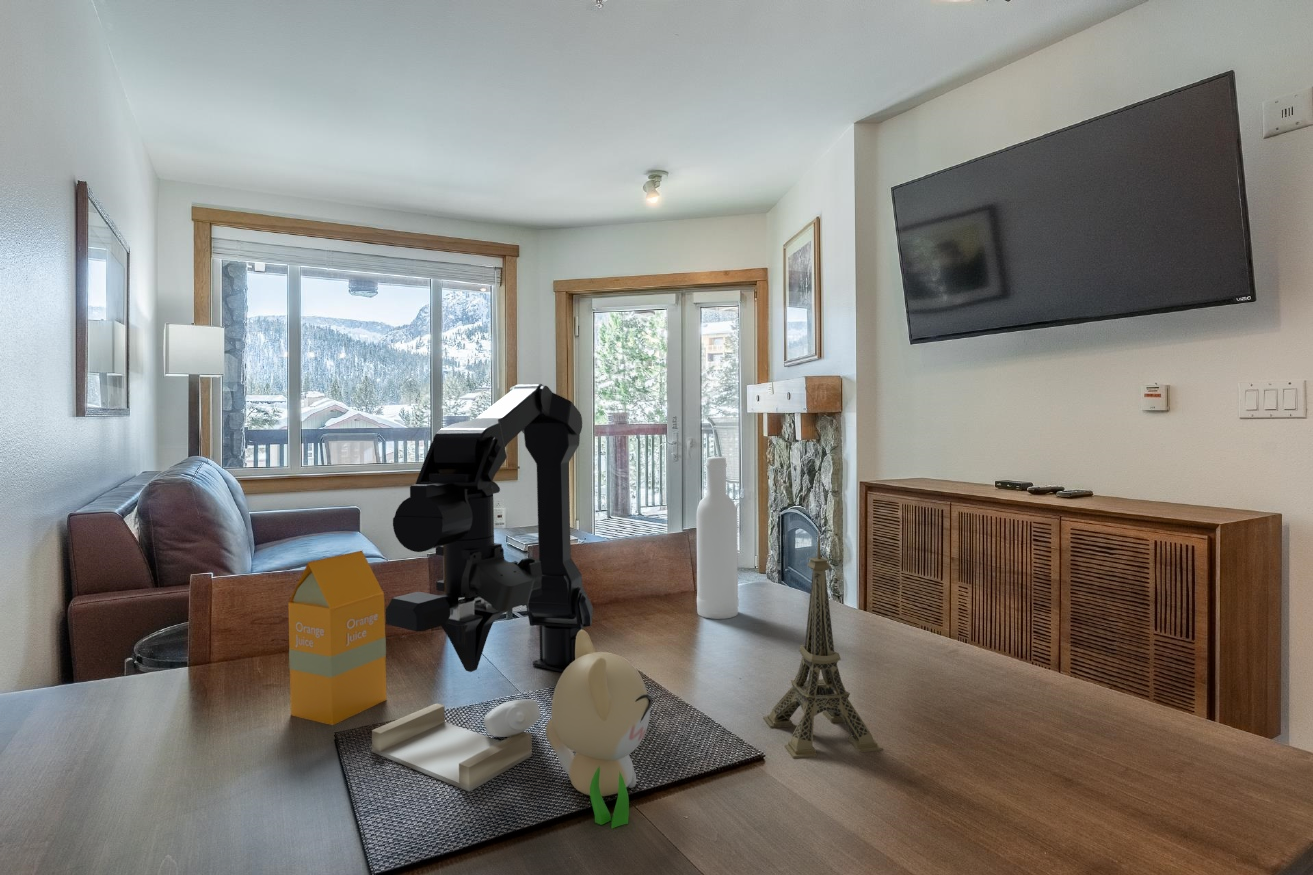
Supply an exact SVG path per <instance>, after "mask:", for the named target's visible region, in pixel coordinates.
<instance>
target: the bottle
mask: <svg viewBox="0 0 1313 875" xmlns="http://www.w3.org/2000/svg"><path fill="white" fill-rule="evenodd" d="M705 467H706V494H705V495H704V497H703V498H702V499H700V500H699V503H698V505H697V508H696V592H697V594H696V595H697V596H696V606H697V607H696V608H697V610H696V611H697V612H696V613H697V615H698V616H700V617H701V618H706V619H712V620H725V619H731V618H735V617H736V616H738V614H739V579H738V578H739V574H738V573H739V570H738V568H739V567H738V565H739V564H738V563H739V562H738V557H739V556H738V550H739V549H738V546H739V545H738V510H737V507H736V504H735V502H734V500H732V498H731V497H730V496H729V495H728V494H727V460H726V457H724V456H710V457H707V458H706V464H705Z"/></svg>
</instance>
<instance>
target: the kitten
mask: <svg viewBox="0 0 1313 875" xmlns="http://www.w3.org/2000/svg"><path fill="white" fill-rule="evenodd" d="M652 705H653V697H652V696H651V695H649V694H648V691H647V688H646V684H645V682H644V680H643V677H642V676H641V674H640V673H639V671H638V669H637V668H636V667H635V666H634V665H633V664H632V663H631V662H630V661H629V660H628V659H626V658H624V657H623V656H621V655H618V654H615V653H611V652H606V651H596V649H595V646H594V644H593V642H592V640H591V637H590V634H589V633H588V632H587V631H586V630H584V629H583V630H580V631H579V632H578V633H577V636H576V644H575V661H573V662H572V663H571V664H570V665H569V666H568V667H567V668H566V669H565V670H564V672H561V675H560V677H559V679H558V680H557V683H556V686H555V688H554V692H553V695H552V702H551V709H550V710H551V712H550V713H551V719H549V720H548V722H547V723H546V727H545V733H546V738H547V741H548V743H549V745H550V746H551V748H552V749H553V750H554V752H555V755H556V756H557V758H558V762H559V763H560V766H561V767H562V769H563V771H564V772H565V773H566V774H567V775H568V776H569V780H570V783H571V784H572V786H573V787H574V789H576V790H577V791H578V792H580V793H582V794H584V795H587V796H589V798H590V802H591V806H592V810H593V814H594V823H595V824H598V825H600V826H602V825H604V824H607V823H609V822H610V825H611V827H610V829H615V828H617V827H620V826H623V825H628V824H629V813H630V812H629V811H630V805H629V804H630V800H629V794H628V789H627V788H630V789H633V788H634V787H635V786H636V785H637V774H636V772H635V770H634V765H633V761H632V758H631V756H630V754H631V753H633V752H634V751H635V750H636V749H637V748H638V747H639V745H640V744H641V743H642V740H643V739H644V737H645V734H646V732H647V730H648V727H649V723H650V717H651V707H652ZM574 753H575V754H574ZM616 794H617V799H616V802H615V806H614V810H613V813H612V816H611V813H610V811H609V809H608V807H607V805H606V803H605V801H604V799H603V797H607V796H611V795H616Z"/></svg>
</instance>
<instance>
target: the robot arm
mask: <svg viewBox="0 0 1313 875" xmlns="http://www.w3.org/2000/svg"><path fill="white" fill-rule="evenodd" d="M508 390H509V391H508V393H506V394H505V395H504V396H502V397H501V398H500V399H498V400H497V401H495V403H494V404H492V405H491V406H489V407H488V408H487V409H486V410H484V412H482V413H481V414H480V415H478V416H477V417H476V418H473V419H469V420H465V421H460V422H455V423H452V424H450V425H447V426H445V427H442V428H440V429H438V431H437V432H436V433H435V434H434V436H433V438H432V442H431V443H430V446H429V449H428V451H427V453H426V456H425V458H424V461H423V463H422V466H421V469H420V472H419V474H418V476H417V478H416V481H415V484H411V485H410V486H409V497H408V498H406V499H404V500H402V502H401V503H400V504H399V505H398V507H397V509H396V511H395V512H394V513H395V514H394V517H393V518H392V528H393V532H394V536H395V537H396V539H397V540H398V542H399V543H400V544H401V545H402V546H403V547H404V548H406V550H409V551H411V552H414V553H424V552H426V551H427V552H428V551H431V550H433V549H435V555H436V556H442V558H443V559H442V561H443V562H442V565H443V566H442V567H443V568H442V569H443V579H442V580H437V581H436V582H435V584H436V587H435V588H436V591H439V592H443V593H444V594H441V595H439V594H432V593H428V592H422V591H413V592H410V593H408V594H402V595H399V596H394V597H392V598H391V599H390V600H389V602H388V603H387V605H386V607H385V625H388V626H393V627H397V628H400V629H404V630H409V631H412V632H416V633H417V632H427V631H430V630H432V629H433V630H434V629H436V628H438V627H441V628H442V630H443V632H444V633H445V635H446V636H447V637H448V639H449V641H450V643H451V645H452V647H453V649H454V650H455V652H456V653H455V654H456V655H457V656H458V658H459V661H460V662H461V664H462V667H463V668H464V670H465V671H467V672H468V673H472V672H475V671H477V670H478V669H479V668H478V667H479V664H480V661H481V658H482V654H483V651H484V649H485V645H486V643H487V639H488V637H489V634H490V631H491V629H492V626H493V624H494V622H495V621H497V619H498V618H500V617H501V616H502V615H503V614H504V613H508V612H509V611H511V610H512V609H515V608H517V607H520V606H522V607H526V610H527V611H526V613H527V617H528V622H529V623H528V624H529V627H530V626H532V627H534V626H536V627H537V626H539V627H538V628H539V633H538V634H539V658H538V659H536V660H534V661H532V666H535V667H539V668H543V669H548V670H551V671H555V672H558V673H563V672H564V670H565V669H566V668H567V667H568V666H569V665H570V664H571V663H572V662H573V661H575V644H576V636H577V633H578V632H579V631H580V630H584V628H586V627H591V626H592V624H593V622H592V620H593V616H594V613H593V610H594V607H593V604H592V602H591V600H590V599H589V595H588V594H587V592H586V590H585V588H584V587H583V576H582V573H581V571H580V569H579V568H578V567H577V565H576V563H575V562H574V560H573V559H572V555H571V508H570V507H571V506H570V503H571V502H570V500H571V499H570V461H571V460H572V458H573V456H574V455H575V453H576V451H577V449H578V447H579V446H580V438H581V437H580V435H581V433H582V428H583V417H582V414H581V412H580V411H579V410H578V408H577V407H576V405H575V404H574V403H573V401H571V400H569V399H568V398H566V397H563V396H562V395H559V394H557V393H555V392H553V391H552V390H551V389H550V387H549V386H547V385H544V384H543V383H523V384H515V385H514V386H511V387H510V388H509V389H508ZM521 432H522V434H523V436H524V437H523V439H524V446H525V448H526V450H527V451H528V453H529V454H530V456H531V457H532V459H533V461H534V463H535V464H536V489H537V490H536V491H537V492H536V495H537V496H536V497H537V499H536V500H537V536H538V537H537V542H538V544H537V546H538V547H537V550H538V559H537V558H536V557H534V556H529V557H526V558H522V559H521V560H520V561H519V562H518V561H516V560H514V561H508V560H506V559H505V558H506V557H505V555H504V554H505V552H504V547H503V544H502V543H497V542H495V528H494V526H495V523H494V521H495V520H494V519H495V518H494V516H495V515H494V494H498V493H500V492H501V488H500V486H499V485H498V484H497V482H495V481H494V478H495V476H496V475H497V473H498V472H499V470H500V468H502V466H503V464H504V462H505V461H506V459H507V457H508V456H507V452H506V447H507V445H508V444H509V443H510V442H512V440H513V439H515V438H516V437H517V436H518V435H519V434H520V433H521Z"/></svg>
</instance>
